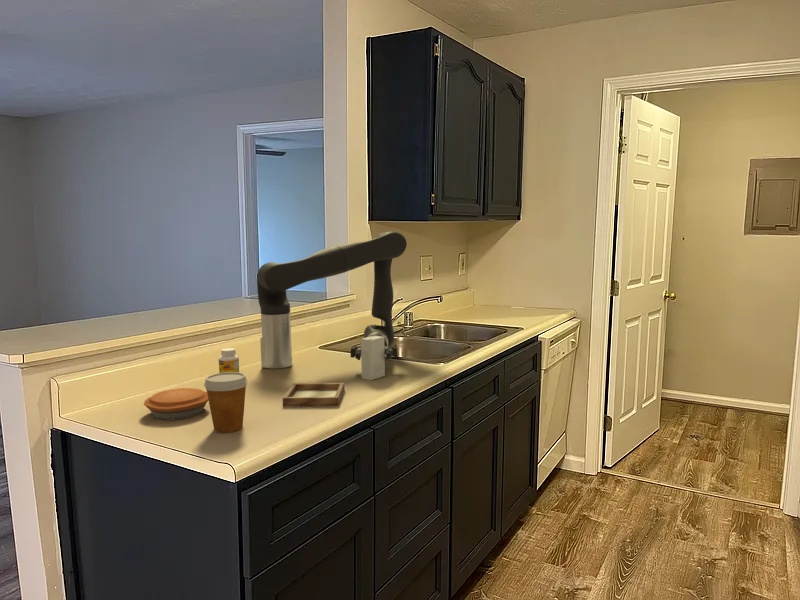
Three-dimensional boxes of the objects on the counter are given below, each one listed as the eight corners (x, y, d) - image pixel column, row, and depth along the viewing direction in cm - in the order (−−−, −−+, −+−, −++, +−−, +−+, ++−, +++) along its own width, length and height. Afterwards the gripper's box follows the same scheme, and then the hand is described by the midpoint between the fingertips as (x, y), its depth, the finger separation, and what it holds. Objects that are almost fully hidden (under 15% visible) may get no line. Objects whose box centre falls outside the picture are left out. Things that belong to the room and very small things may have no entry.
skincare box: (374, 374, 187) (374, 334, 186) (385, 376, 184) (385, 336, 183) (360, 378, 183) (359, 338, 181) (371, 380, 180) (371, 339, 178)
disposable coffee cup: (258, 423, 144) (255, 373, 142) (234, 437, 135) (231, 383, 133) (223, 419, 147) (220, 370, 145) (197, 433, 138) (194, 380, 136)
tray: (282, 406, 156) (282, 398, 156) (293, 391, 170) (293, 383, 170) (338, 406, 156) (337, 397, 156) (344, 390, 170) (344, 382, 169)
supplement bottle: (215, 385, 177) (213, 350, 176) (228, 380, 182) (226, 346, 181) (231, 387, 175) (229, 352, 174) (243, 382, 180) (242, 348, 179)
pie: (163, 403, 161) (162, 384, 161) (221, 403, 160) (219, 385, 159) (132, 422, 146) (130, 402, 145) (195, 423, 145) (194, 402, 144)
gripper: (353, 333, 197) (348, 344, 181) (398, 333, 197) (397, 343, 181) (354, 357, 198) (349, 369, 182) (398, 356, 198) (397, 368, 182)
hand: (373, 356), depth 182 cm, fingers open, 8 cm apart
